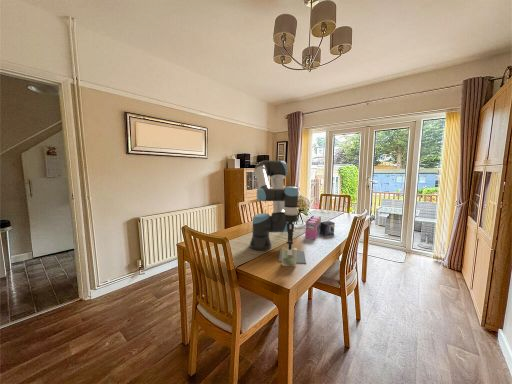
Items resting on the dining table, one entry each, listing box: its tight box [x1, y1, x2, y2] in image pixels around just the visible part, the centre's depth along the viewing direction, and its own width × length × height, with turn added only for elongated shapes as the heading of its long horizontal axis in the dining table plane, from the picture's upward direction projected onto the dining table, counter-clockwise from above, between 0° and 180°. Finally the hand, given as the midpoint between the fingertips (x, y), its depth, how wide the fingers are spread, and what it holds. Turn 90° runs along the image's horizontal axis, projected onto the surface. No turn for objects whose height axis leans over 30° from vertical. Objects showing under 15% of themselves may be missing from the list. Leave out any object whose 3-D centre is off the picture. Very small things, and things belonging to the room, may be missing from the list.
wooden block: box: [281, 247, 298, 267], centre depth 124 cm, size 8×2×10 cm, turn 81°
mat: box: [278, 249, 307, 265], centre depth 136 cm, size 16×18×1 cm
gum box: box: [304, 215, 322, 240], centre depth 180 cm, size 24×8×14 cm, turn 152°
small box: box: [319, 220, 335, 237], centre depth 181 cm, size 11×6×10 cm, turn 115°
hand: (289, 250), depth 123 cm, fingers open, 13 cm apart
